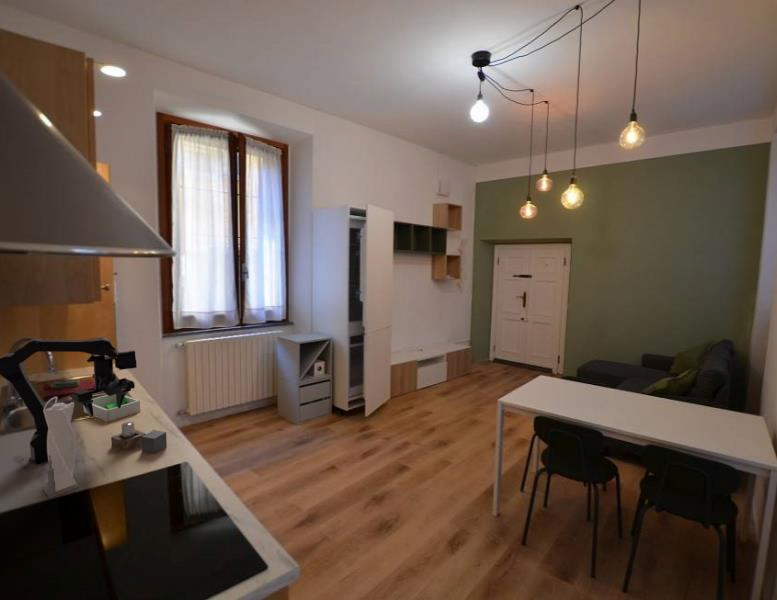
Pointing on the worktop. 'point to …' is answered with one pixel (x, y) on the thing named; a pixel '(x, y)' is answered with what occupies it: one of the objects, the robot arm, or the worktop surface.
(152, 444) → the grey cube
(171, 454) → the worktop surface
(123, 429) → the grey cylinder
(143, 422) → the worktop surface
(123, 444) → the socket block
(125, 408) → the part corral
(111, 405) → the mechanical part
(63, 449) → the white tall twisted piece
